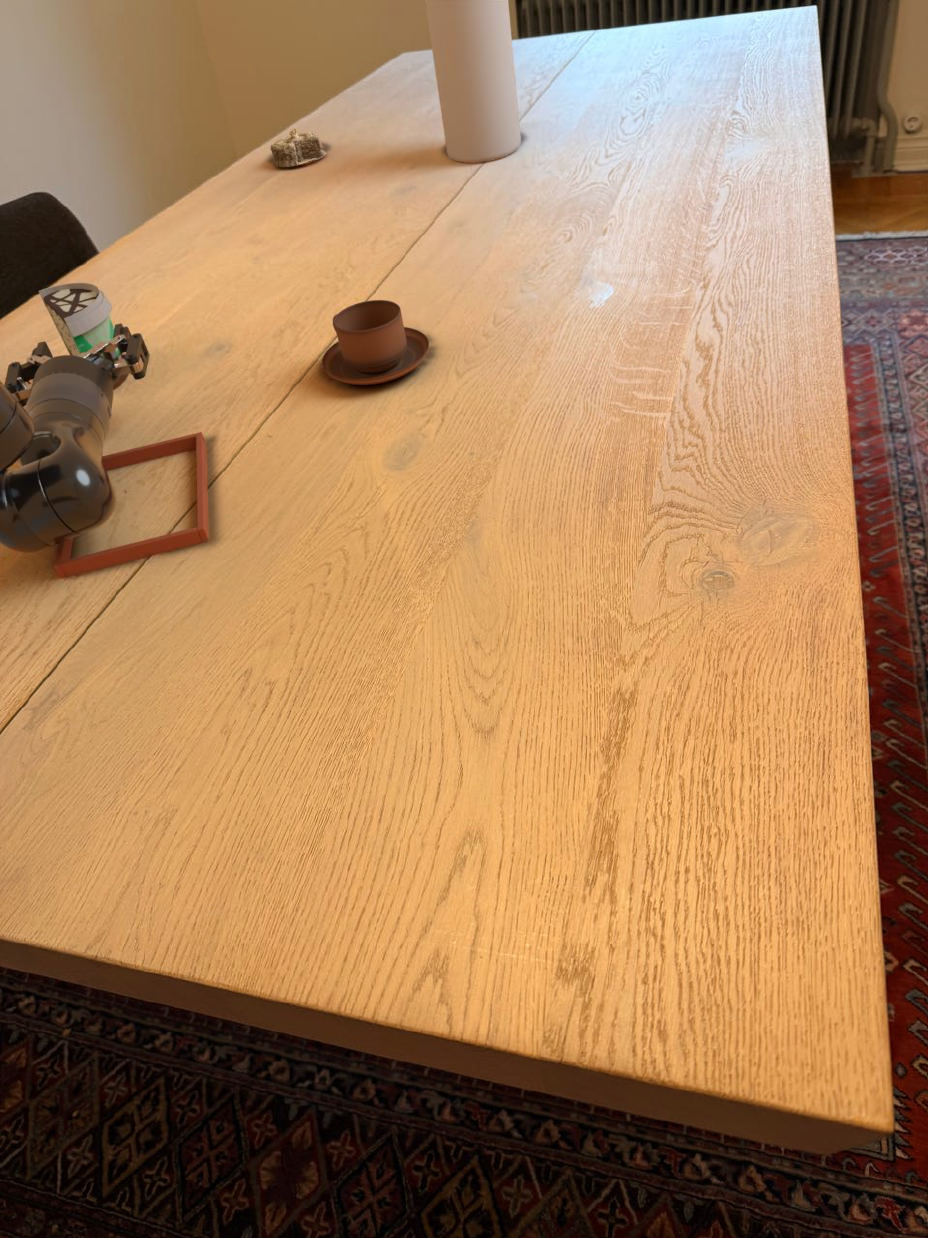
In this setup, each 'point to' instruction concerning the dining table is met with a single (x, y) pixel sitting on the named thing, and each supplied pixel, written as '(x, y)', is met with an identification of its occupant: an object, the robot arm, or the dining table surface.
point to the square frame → (153, 545)
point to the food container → (81, 317)
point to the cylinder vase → (475, 77)
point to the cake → (297, 149)
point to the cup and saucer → (373, 344)
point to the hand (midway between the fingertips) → (84, 340)
